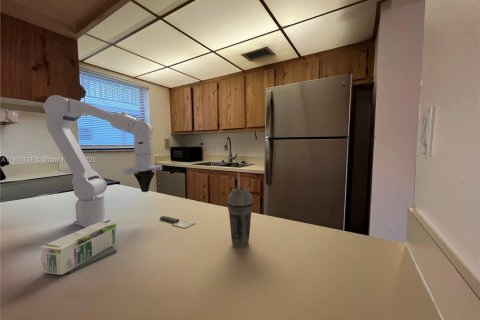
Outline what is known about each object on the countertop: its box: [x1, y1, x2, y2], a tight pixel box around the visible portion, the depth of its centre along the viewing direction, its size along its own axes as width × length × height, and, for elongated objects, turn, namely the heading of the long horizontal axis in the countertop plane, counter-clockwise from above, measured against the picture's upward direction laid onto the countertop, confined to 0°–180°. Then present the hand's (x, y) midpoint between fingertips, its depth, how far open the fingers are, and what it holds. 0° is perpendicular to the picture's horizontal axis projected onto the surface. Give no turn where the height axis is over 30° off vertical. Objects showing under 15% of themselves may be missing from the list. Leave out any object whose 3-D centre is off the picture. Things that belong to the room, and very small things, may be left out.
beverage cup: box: [226, 172, 254, 249], centre depth 56 cm, size 7×7×20 cm
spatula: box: [159, 215, 196, 229], centre depth 73 cm, size 14×5×1 cm, turn 61°
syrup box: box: [40, 222, 118, 275], centre depth 50 cm, size 6×6×14 cm
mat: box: [67, 246, 117, 274], centre depth 52 cm, size 14×10×1 cm
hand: (145, 191), depth 75 cm, fingers closed
